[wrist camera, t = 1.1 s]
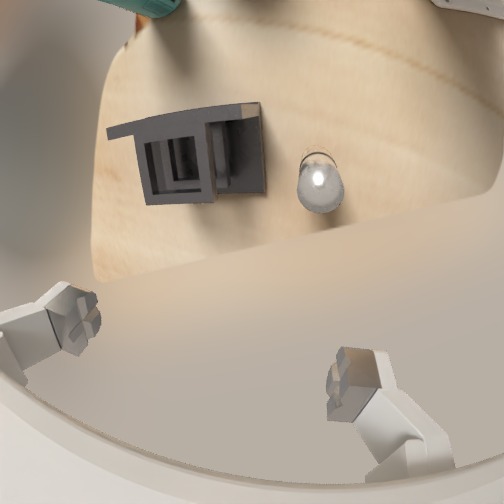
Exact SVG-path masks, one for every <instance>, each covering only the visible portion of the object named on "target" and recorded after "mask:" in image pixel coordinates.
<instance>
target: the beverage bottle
mask: <svg viewBox="0 0 504 504" xmlns="http://www.w3.org/2000/svg"><path fill="white" fill-rule="evenodd" d="M98 1H102V2H106V3H109V4H113V5H116V6H119V7H121V8H125V9H127V10H130V11H133V12H136V14H138V13H139V14H141V16H142V15H144V17H145V16H147V17H146V18H148V17H150V18H160V17H164V16H166V15H168V14H170V13H171V12H172V11H173V10H175V8H176V7H177V6H178V5H179V3H180V0H98Z"/></svg>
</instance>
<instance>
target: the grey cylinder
mask: <svg viewBox="0 0 504 504" xmlns="http://www.w3.org/2000/svg"><path fill="white" fill-rule="evenodd" d="M297 194H298V198H299V200H300V202H301V204H302V205H303V206H304V207H305V208H306V209H308V210H310V211H312V212H315V213H327V212H330V211H332V210H334V209H335V208H337V207H338V206H339V204H340V203H341V201H342V199H343V196H344V186H343V183H342V180H341V178H340V175H339V173H338V170H337V166H336V164H335V162H334V160H333V158H332V156H331V154H330V152H329V151H328V150H327V149H326V148H324V147H322V146H312V147H309V148H308V149H307V150H306V151H305V152H304V153H303V156H302V162H301V164H300V174H299V180H298V186H297Z"/></svg>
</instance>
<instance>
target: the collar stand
mask: <svg viewBox="0 0 504 504" xmlns="http://www.w3.org/2000/svg"><path fill="white" fill-rule="evenodd" d="M106 130H107V137H108V140H112V139H116V138H121V137H125V136H130V135H134V141H135V148H136V154H137V160H138V166H139V171H140V177H141V182H142V187H143V192H144V197H145V202H146V205H163V204H186V203H214V202H215V201H216V200H217V199H218V194H219V193H264V192H265V190H266V183H265V167H264V153H263V139H262V125H261V112H260V102H251V103H239V104H229V105H220V106H212V107H205V108H198V109H191V110H185V111H179V112H173V113H168V114H163V115H158V116H153V117H148V118H145V119H141V120H137V121H133V122H129V123H125V124H121V125H117V126H113V127H109V128H106Z"/></svg>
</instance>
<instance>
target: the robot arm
mask: <svg viewBox="0 0 504 504" xmlns="http://www.w3.org/2000/svg"><path fill="white" fill-rule="evenodd" d="M431 1H432V2H433V3H434V4H435V5H437V6H438V7H441V8H449V9H455V10H462V11H467V12H473V13H477V14H482V15H486V16H491V17H495V18H498V19H502V20H504V0H447V2H446V1H445V0H431ZM97 303H98V300H97V296H96V294H95V293H94V292H92V291H90V290H87V289H84V288H81V287H79V286H76V285H73V284H70V283H67V282H65V281H61V282H59V283H58V284H56V285H55V286H54V287H53V288H51V289H50V290H49V291H48V292H47V293H45V294H44V295H43V296H42V297H41V298H40V299H39V300H37V301H36V302H35V303H32V302H31V303H28V304H25V305H21V306H18V307H15V308H12V309H9V310H6V311H3V312H0V504H504V453H502V454H499V455H497V456H494V457H492V458H488V459H486V460H483V461H480V462H476V463H473V464H470V465H467V466H463V467H460V468H455V463H454V459H453V454H452V450H451V446H450V442H449V439H448V435H447V434H446V433H445V432H444V431H443V430H442V429H441V428H440V427H439V426H438V425H437V424H436V423H435V422H434V421H433V420H432V419H431V418H430V417H429V416H428V415H427V414H426V413H425V412H424V411H423V410H422V409H421V408H420V407H419V406H418V405H417V404H416V403H415V402H414V401H413V400H412V399H411V398H410V397H409V396H408V395H407V394H406V393H405V392H404V391H403V390H402V389H398V387H397V384H396V380H395V376H394V373H393V369H392V365H391V362H390V359H389V356H388V353H387V352H386V351H383V350H369V349H359V348H349V347H341V348H340V349H339V351H338V353H337V356H336V358H337V362H336V363H334V364H333V365H332V366H331V368H330V370H329V373H328V377H327V383H326V392H327V394H328V395H329V396H330V399H329V401H328V403H327V420H328V421H338V422H351V423H353V426H354V427H355V428H356V430H357V432H358V433H359V435H360V436H361V438H362V439H363V441H364V442H365V444H366V445H367V447H368V448H369V450H370V451H371V453H372V454H373V456H374V457H375V459H376V460H377V462H378V463H379V465H378V466H377V467H376V468H374V469H373V470H372V471H370V472H369V473H368V474H367V475H366V476H365V483H355V484H310V483H292V482H282V481H272V480H264V479H256V478H250V477H244V476H238V475H232V474H228V473H223V472H218V471H214V470H209V469H205V468H201V467H197V466H193V465H190V464H186V463H183V462H179V461H176V460H172V459H169V458H166V457H163V456H160V455H157V454H154V453H152V452H149V451H146V450H143V449H140V448H138V447H135V446H133V445H130V444H128V443H126V442H123V441H120V440H118V439H116V438H114V437H111V436H109V435H107V434H105V433H103V432H101V431H99V430H97V429H94V428H92V427H90V426H88V425H86V424H84V423H83V422H81V421H79V420H77V419H75V418H73V417H71V416H70V415H68V414H66V413H64V412H63V411H61V410H59V409H57V408H56V407H54V406H52V405H51V404H49V403H48V402H46V401H44V400H43V399H41V398H40V397H38V396H37V395H35V394H34V393H32V392H31V391H29V390H28V389H26V388H25V386H26V385H27V383H28V379H27V378H26V376H25V375H24V372H23V370H25V369H27V368H29V367H30V366H32V365H34V364H36V363H38V362H40V361H42V360H44V359H46V358H47V357H49V356H51V355H53V354H55V353H57V352H59V351H61V349H62V350H64V351H67V352H69V353H71V354H73V355H75V356H80V354H81V353H82V352H83V350H84V349H85V348H86V347H87V345H88V339H90V338H92V337H95V335H96V334H97V333H98V331H99V329H100V326H101V315H100V311H99V310H98V308H97V307H96V304H97Z"/></svg>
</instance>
